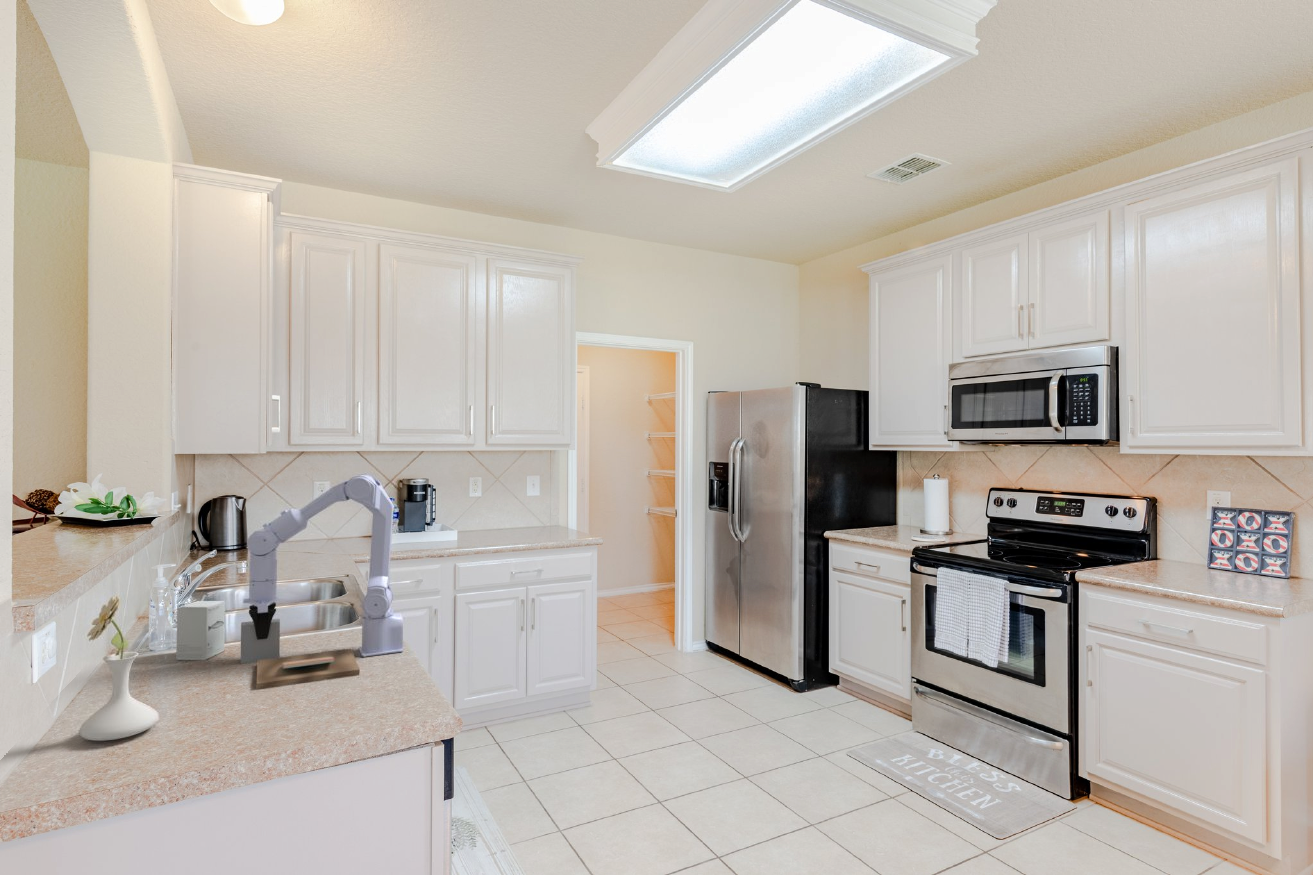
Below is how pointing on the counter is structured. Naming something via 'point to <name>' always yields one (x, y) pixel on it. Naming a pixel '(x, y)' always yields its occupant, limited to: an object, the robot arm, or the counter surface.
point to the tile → (308, 662)
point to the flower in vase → (117, 690)
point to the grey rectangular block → (259, 643)
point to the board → (305, 669)
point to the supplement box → (200, 630)
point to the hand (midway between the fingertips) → (262, 636)
